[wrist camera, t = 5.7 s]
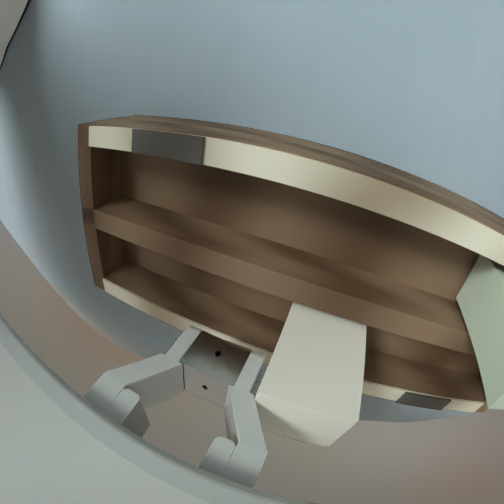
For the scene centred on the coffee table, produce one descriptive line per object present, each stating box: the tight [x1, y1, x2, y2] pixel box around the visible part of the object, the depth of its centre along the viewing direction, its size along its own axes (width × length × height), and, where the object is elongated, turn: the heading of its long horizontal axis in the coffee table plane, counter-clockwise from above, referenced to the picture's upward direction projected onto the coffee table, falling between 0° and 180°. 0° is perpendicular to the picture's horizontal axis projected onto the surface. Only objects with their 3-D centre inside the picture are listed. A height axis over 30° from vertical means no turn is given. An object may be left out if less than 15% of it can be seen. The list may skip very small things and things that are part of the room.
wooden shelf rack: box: [78, 115, 504, 412], centre depth 11 cm, size 24×9×4 cm, turn 81°
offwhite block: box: [254, 302, 367, 447], centre depth 9 cm, size 3×2×6 cm
